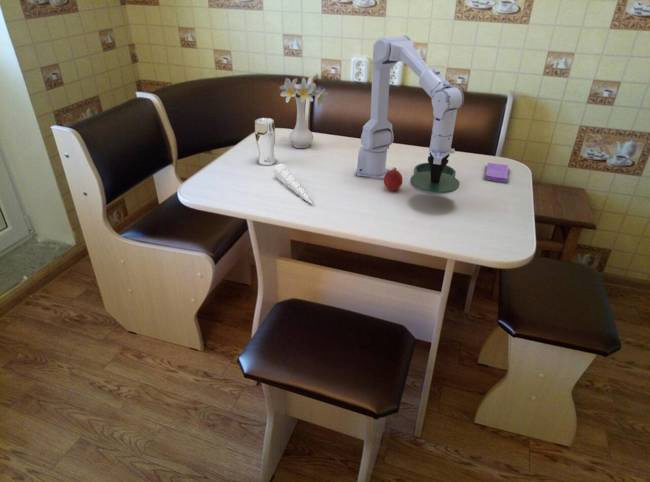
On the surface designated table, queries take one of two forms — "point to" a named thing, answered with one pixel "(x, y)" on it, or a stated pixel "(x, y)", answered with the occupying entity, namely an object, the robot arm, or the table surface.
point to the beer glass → (265, 140)
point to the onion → (393, 180)
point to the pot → (426, 167)
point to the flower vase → (301, 108)
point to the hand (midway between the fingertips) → (435, 178)
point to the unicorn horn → (289, 181)
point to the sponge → (497, 172)
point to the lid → (442, 186)
